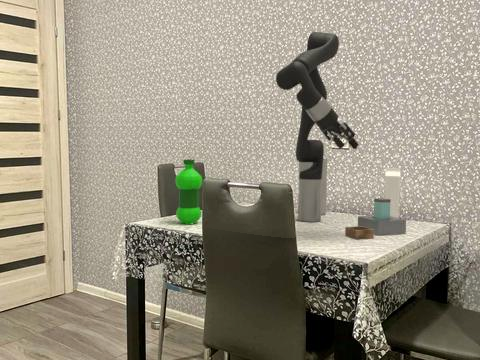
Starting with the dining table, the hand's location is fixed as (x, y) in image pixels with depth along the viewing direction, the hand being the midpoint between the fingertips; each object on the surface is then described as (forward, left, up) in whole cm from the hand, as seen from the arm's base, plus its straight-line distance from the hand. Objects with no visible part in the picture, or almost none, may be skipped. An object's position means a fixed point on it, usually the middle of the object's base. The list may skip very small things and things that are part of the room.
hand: (349, 147), depth 166 cm
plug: (+13, +7, -30) cm, 33 cm away
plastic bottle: (-60, +10, -31) cm, 68 cm away
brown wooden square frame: (+4, -5, -31) cm, 31 cm away
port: (+13, +7, -31) cm, 34 cm away
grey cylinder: (-12, +47, -31) cm, 58 cm away
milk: (+21, +35, -31) cm, 51 cm away
